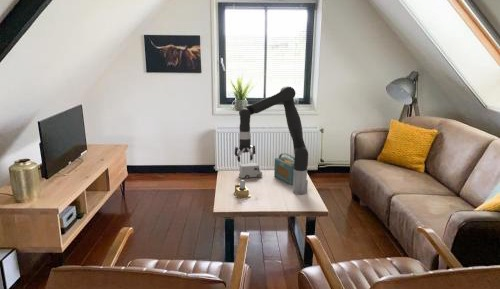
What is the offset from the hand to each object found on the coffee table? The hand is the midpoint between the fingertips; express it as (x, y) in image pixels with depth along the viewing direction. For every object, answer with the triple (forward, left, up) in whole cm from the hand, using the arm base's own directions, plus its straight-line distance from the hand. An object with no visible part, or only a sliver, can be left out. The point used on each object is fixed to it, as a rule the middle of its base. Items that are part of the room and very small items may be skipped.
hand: (245, 161), depth 251 cm
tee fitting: (+3, +1, -24) cm, 24 cm away
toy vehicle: (-16, -35, -24) cm, 45 cm away
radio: (-41, -19, -24) cm, 51 cm away
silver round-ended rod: (+3, +3, -23) cm, 23 cm away
